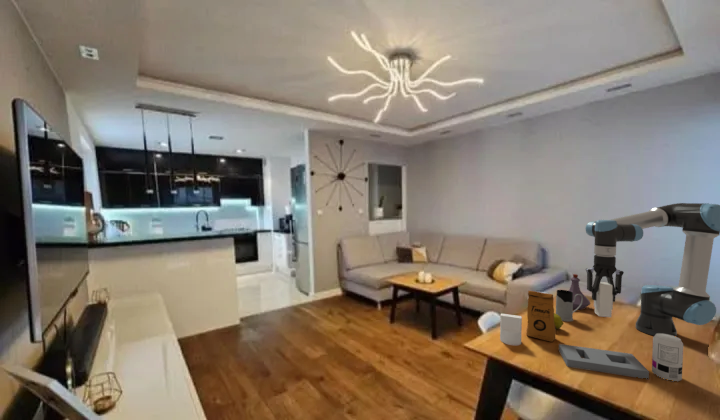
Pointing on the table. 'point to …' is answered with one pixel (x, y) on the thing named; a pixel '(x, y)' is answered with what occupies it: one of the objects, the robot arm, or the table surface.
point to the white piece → (510, 329)
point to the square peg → (604, 300)
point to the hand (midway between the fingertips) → (603, 307)
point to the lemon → (558, 321)
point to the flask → (576, 290)
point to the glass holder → (565, 304)
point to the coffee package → (541, 316)
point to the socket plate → (602, 361)
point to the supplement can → (667, 356)
